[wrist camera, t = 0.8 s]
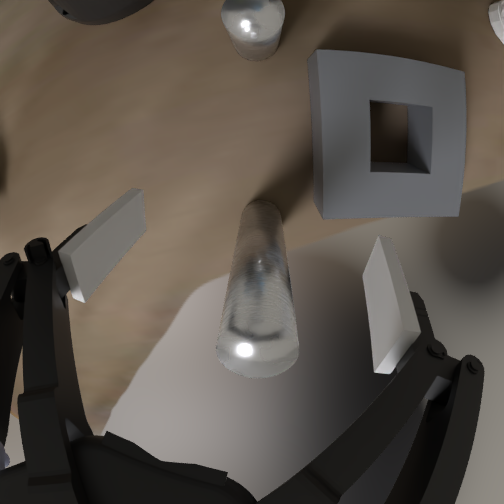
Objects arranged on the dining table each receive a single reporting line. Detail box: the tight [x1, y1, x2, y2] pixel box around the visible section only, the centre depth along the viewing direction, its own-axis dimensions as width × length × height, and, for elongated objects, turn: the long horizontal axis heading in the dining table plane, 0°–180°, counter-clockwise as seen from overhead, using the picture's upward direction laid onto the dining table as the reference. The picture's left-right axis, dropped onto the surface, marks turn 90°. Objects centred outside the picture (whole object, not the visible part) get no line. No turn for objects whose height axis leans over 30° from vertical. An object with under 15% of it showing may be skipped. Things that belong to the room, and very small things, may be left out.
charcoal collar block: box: [307, 49, 466, 219], centre depth 23 cm, size 14×14×5 cm
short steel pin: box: [221, 0, 285, 61], centre depth 18 cm, size 4×4×9 cm
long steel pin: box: [216, 200, 299, 378], centre depth 22 cm, size 4×4×18 cm
